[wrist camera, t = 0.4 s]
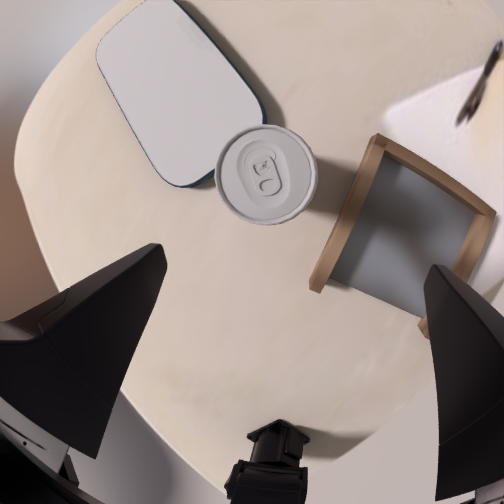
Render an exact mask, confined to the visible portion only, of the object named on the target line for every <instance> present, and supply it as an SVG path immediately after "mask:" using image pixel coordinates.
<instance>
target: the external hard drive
mask: <svg viewBox="0 0 504 504" xmlns="http://www.w3.org/2000/svg"><path fill="white" fill-rule="evenodd" d="M96 61H97V64H98V67H99V69H100V71H101V73H102V75H103V76H104V78H105V80H106V82H107V84H108V86H109V88H110V90H111V92H112V94H113V96H114V97H115V99H116V101H117V103H118V105H119V107H120V109H121V110H122V112H123V114H124V116H125V118H126V120H127V121H128V123H129V125H130V127H131V129H132V130H133V132H134V134H135V136H136V138H137V139H138V141H139V143H140V145H141V146H142V148H143V150H144V152H145V153H146V155H147V157H148V159H149V160H150V162H151V164H152V165H153V167H154V168H155V170H156V172H157V173H158V174H159V175H160V176H161V177H162V179H164V180H165V181H166V182H167V183H169V184H171V185H173V186H175V187H181V188H186V187H193V186H196V185H198V184H200V183H202V182H204V181H205V180H207V179H208V178H210V177H211V176H213V175H214V174H215V164H216V161H217V158H218V155H219V152H220V151H221V149H222V148H223V146H224V145H225V143H226V142H227V141H228V140H229V139H230V138H231V137H232V136H233V135H235V134H236V133H237V132H239V131H241V130H243V129H245V128H247V127H250V126H255V125H260V124H266V125H267V117H266V113H265V109H264V107H263V105H262V103H261V101H260V99H259V98H258V96H257V95H256V93H255V92H254V90H253V89H252V88H251V86H250V85H249V84H248V83H247V81H246V80H245V79H244V77H243V76H242V75H241V74H240V72H239V71H238V70H237V69H236V67H235V66H234V65H233V64H232V62H231V61H230V60H229V59H228V58H227V56H226V55H225V54H224V53H223V52H222V50H221V49H220V48H219V47H218V46H217V44H216V43H215V42H214V41H213V40H212V39H211V38H210V36H209V35H208V34H207V33H206V32H205V30H203V29H202V28H201V26H200V25H199V24H198V23H197V22H196V21H195V20H194V18H193V17H192V16H191V15H190V14H189V13H188V12H187V11H186V10H185V9H184V8H183V7H182V6H181V5H180V4H179V3H177V2H176V1H175V0H146V1H144V2H143V3H141V4H140V5H139V6H137V7H136V8H135V9H134V10H132V11H131V12H130V13H129V14H127V15H126V16H125V17H124V18H123V19H122V20H120V21H119V22H118V23H117V24H116V25H115V26H114V27H113V28H112V29H110V30H109V31H108V32H107V33H106V34H105V36H104V37H103V38H102V39H101V41H100V43H99V44H98V47H97V50H96Z"/></svg>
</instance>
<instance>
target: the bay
mask: <svg viewBox="0 0 504 504" xmlns="http://www.w3.org/2000/svg"><path fill="white" fill-rule="evenodd" d="M495 215H496V211H495V210H493V209H492V208H491V207H490V206H489V205H488V204H486V203H485V202H484V201H483V200H481V199H480V198H479V197H478V196H476V195H475V194H474V193H472V192H471V191H470V190H468V189H467V188H466V187H464V186H463V185H462V184H460V183H459V182H458V181H456V180H455V179H453V178H452V177H451V176H449V175H448V174H446V173H445V172H443V171H442V170H440V169H439V168H437V167H436V166H434V165H433V164H431V163H429V162H428V161H426V160H425V159H423V158H421V157H420V156H418V155H416V154H415V153H413V152H411V151H410V150H408V149H406V148H404V147H403V146H401V145H399V144H397V143H396V142H394V141H392V140H390V139H388V138H386V137H384V136H382V135H381V134H379V133H377V134H376V135H374V136H372V137H371V138H370V141H369V144H368V146H367V149H366V151H365V154H364V157H363V159H362V162H361V164H360V167H359V169H358V172H357V174H356V177H355V179H354V181H353V184H352V186H351V189H350V191H349V193H348V196H347V198H346V201H345V203H344V205H343V208H342V210H341V212H340V214H339V217H338V219H337V221H336V223H335V226H334V228H333V230H332V232H331V234H330V237H329V239H328V241H327V243H326V245H325V247H324V250H323V252H322V254H321V256H320V258H319V260H318V262H317V264H316V266H315V268H314V271H313V273H312V275H311V277H310V279H309V289H310V290H312V291H315V292H317V293H319V294H320V293H321V291H322V289H323V287H324V285H325V283H326V281H327V280H328V278H329V277H330V278H332V279H334V280H337V281H339V282H341V283H344V284H346V285H348V286H350V287H353V288H355V289H357V290H359V291H362V292H364V293H366V294H369V295H371V296H373V297H375V298H378V299H380V300H382V301H384V302H387V303H389V304H391V305H393V306H396V307H398V308H400V309H402V310H405V311H407V312H409V313H411V314H413V315H416V316H418V317H420V318H422V319H421V320H420V322H419V324H418V325H417V326H418V327H419V329H420V330H421V332H422V334H423V335H424V337H425V338H427V339H429V340H430V338H429V332H428V325H427V315H426V306H425V299H424V291H423V286H424V282H425V280H426V277H427V275H428V272H429V269H430V267H431V266H432V265H433V264H443V265H445V266H446V267H447V268H448V269H450V270H451V271H452V272H453V273H455V274H456V275H457V276H458V277H459V278H461V279H462V280H463V281H464V282H465V283H466V282H467V280H468V278H469V276H470V274H471V272H472V270H473V268H474V266H475V264H476V262H477V260H478V257H479V255H480V253H481V251H482V248H483V246H484V244H485V241H486V239H487V236H488V234H489V231H490V229H491V226H492V223H493V221H494V218H495Z"/></svg>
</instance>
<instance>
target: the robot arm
mask: <svg viewBox="0 0 504 504" xmlns="http://www.w3.org/2000/svg"><path fill="white" fill-rule="evenodd" d="M166 271H167V260H166V257H165V253H164V249H163V246H162V245H161V244H156V243H150V244H148V245H146V246H144V247H142V248H140V249H138V250H136V251H134V252H132V253H130V254H128V255H127V256H125V257H123V258H121V259H119V260H117V261H115V262H114V263H112V264H110V265H108V266H106V267H104V268H103V269H101V270H99V271H97V272H95V273H93V274H92V275H90V276H88V277H86V278H85V279H83V280H81V281H79V282H78V283H76V284H74V285H72V286H71V287H70V288H67V289H65V290H64V291H62V292H60V293H59V294H57V295H55V296H53V297H52V298H50V299H48V300H46V301H45V302H43V303H41V304H39V305H37V306H35V307H33V308H31V309H29V310H28V311H26V312H24V313H22V314H20V315H18V316H17V317H15V318H13V319H11V320H7V321H3V322H0V504H104V503H103V502H101V501H99V500H97V499H96V498H94V497H92V496H90V495H89V494H87V493H86V492H84V491H82V490H81V489H79V488H78V485H79V481H78V478H77V475H76V473H75V470H74V467H73V464H72V461H71V458H70V456H69V455H68V454H67V452H68V450H69V448H70V447H72V448H74V449H76V450H77V451H79V452H81V453H83V454H85V455H87V456H89V457H91V458H93V459H96V457H97V454H98V451H99V448H100V445H101V441H102V439H103V435H104V432H105V430H106V427H107V424H108V421H109V418H110V415H111V412H112V408H113V406H114V404H115V401H116V398H117V395H118V393H119V390H120V387H121V385H122V382H123V380H124V377H125V374H126V372H127V369H128V367H129V364H130V362H131V360H132V357H133V355H134V352H135V350H136V347H137V345H138V343H139V340H140V338H141V336H142V333H143V331H144V329H145V326H146V324H147V322H148V320H149V317H150V315H151V313H152V311H153V308H154V306H155V303H156V300H157V297H158V294H159V291H160V289H161V286H162V283H163V280H164V277H165V274H166ZM423 291H424V299H425V306H426V315H427V325H428V332H429V338H430V344H431V350H432V356H433V363H434V371H435V380H436V389H437V402H438V419H439V420H438V421H439V444H440V445H439V455H438V474H437V475H438V476H437V486H436V496H435V501H440V500H444V499H447V498H451V497H454V496H458V495H461V494H465V493H467V492H471V491H474V490H475V498H473V499H470V500H468V501H465V502H463V503H460V504H504V317H503V316H502V315H501V314H500V313H499V312H498V311H497V310H496V309H495V308H493V306H491V305H490V304H489V303H488V302H487V301H486V300H485V299H484V298H483V297H482V296H480V295H479V294H478V293H477V292H476V291H475V290H474V289H472V288H471V287H470V286H469V285H468V284H467V283H465V282H464V281H463V280H462V279H461V278H459V277H458V276H457V275H456V274H455V273H453V272H452V271H451V270H450V269H448V268H447V267H446V266H445V265H443V264H433V265H432V266H431V267H430V269H429V272H428V275H427V277H426V280H425V282H424V286H423ZM247 438H248V439H249V440H251V441H253V442H254V446H253V450H252V454H251V458H250V461H243V460H240V459H239V461H238V464H235V465H234V466H233V469H232V472H231V475H230V476H229V478H228V480H227V481H226V483H225V485H224V488H225V489H226V491H227V499H229V500H231V503H230V504H305V500H306V495H307V484H308V480H307V479H308V467H299V463H300V459H302V452H303V445H305V444H307V443H309V442H310V439H309V438H308V437H306V436H305V435H303V434H301V433H300V432H298V431H297V430H295V429H293V428H292V427H290V426H289V425H287V424H286V423H284V422H283V421H281V420H276V421H274V422H272V423H270V424H268V425H266V426H264V427H262V428H260V429H258V430H256V431H253V432H251V433H249V434H247Z"/></svg>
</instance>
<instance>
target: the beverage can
mask: <svg viewBox="0 0 504 504" xmlns="http://www.w3.org/2000/svg"><path fill="white" fill-rule="evenodd" d="M214 178H215V183H216V189H217V192H218V194H219V196H220V198H221V200H222V202H223V203H224V204H225V205H226V207H227V208H228V209H229V210H230V211H231V212H232V213H233V214H235V215H236V216H238V217H239V218H240V219H242V220H245V221H248V222H250V223H253V224H260V225H275V224H282V223H284V222H287V221H289V220H291V219H293V218H295V217H296V216H297V215H299V214H300V213H301V212H303V211H304V210H305V209H306V207H307V206H308V204H309V203H310V202H311V200H312V199H313V196H314V194H315V191H316V188H317V184H318V168H317V162H316V159H315V157H314V155H313V152H312V150H311V148H310V147H309V146H308V145H307V143H306V142H305V141H304V140H303V139H302V138H301V137H300V136H299V135H297V134H296V133H294V132H293V131H291V130H289V129H286V128H283V127H280V126H277V125H266V124H260V125H255V126H250V127H247V128H245V129H243V130H241V131H239V132H237V133H236V134H235V135H233V136H232V137H231V138H230V139H229V140H228V141H227V142H226V143H225V145H224V146H223V148H222V149H221V151H220V152H219V155H218V158H217V161H216V164H215V176H214Z"/></svg>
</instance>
